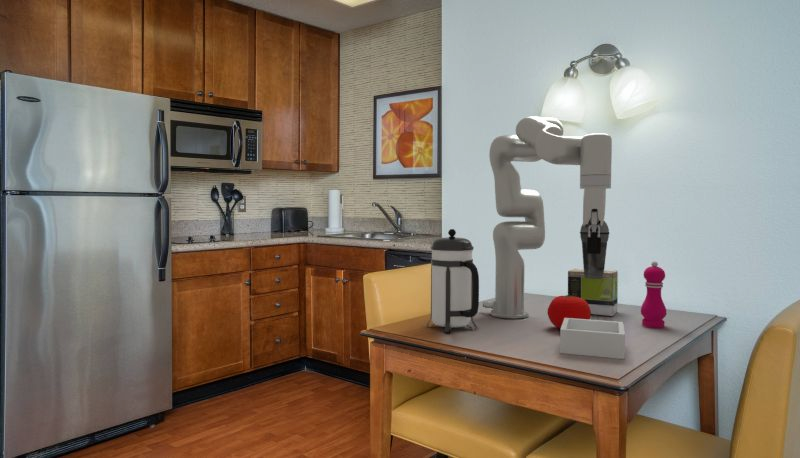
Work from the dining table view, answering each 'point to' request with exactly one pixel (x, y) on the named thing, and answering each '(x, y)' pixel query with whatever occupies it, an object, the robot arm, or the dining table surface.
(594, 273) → the beverage cup
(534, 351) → the dining table surface
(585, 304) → the tomato
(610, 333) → the box
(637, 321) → the dining table surface
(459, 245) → the coffee press
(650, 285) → the pepper mill
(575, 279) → the tea box
